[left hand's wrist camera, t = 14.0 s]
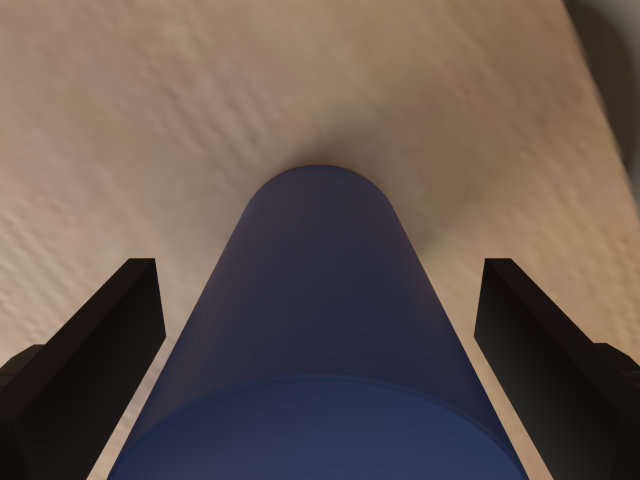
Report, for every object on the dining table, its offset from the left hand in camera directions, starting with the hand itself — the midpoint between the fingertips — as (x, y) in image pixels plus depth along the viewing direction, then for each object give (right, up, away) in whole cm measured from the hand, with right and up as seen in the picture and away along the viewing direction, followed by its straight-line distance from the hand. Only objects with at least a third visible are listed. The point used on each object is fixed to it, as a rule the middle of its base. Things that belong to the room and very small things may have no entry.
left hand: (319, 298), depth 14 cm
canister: (0, +2, +4) cm, 4 cm away
